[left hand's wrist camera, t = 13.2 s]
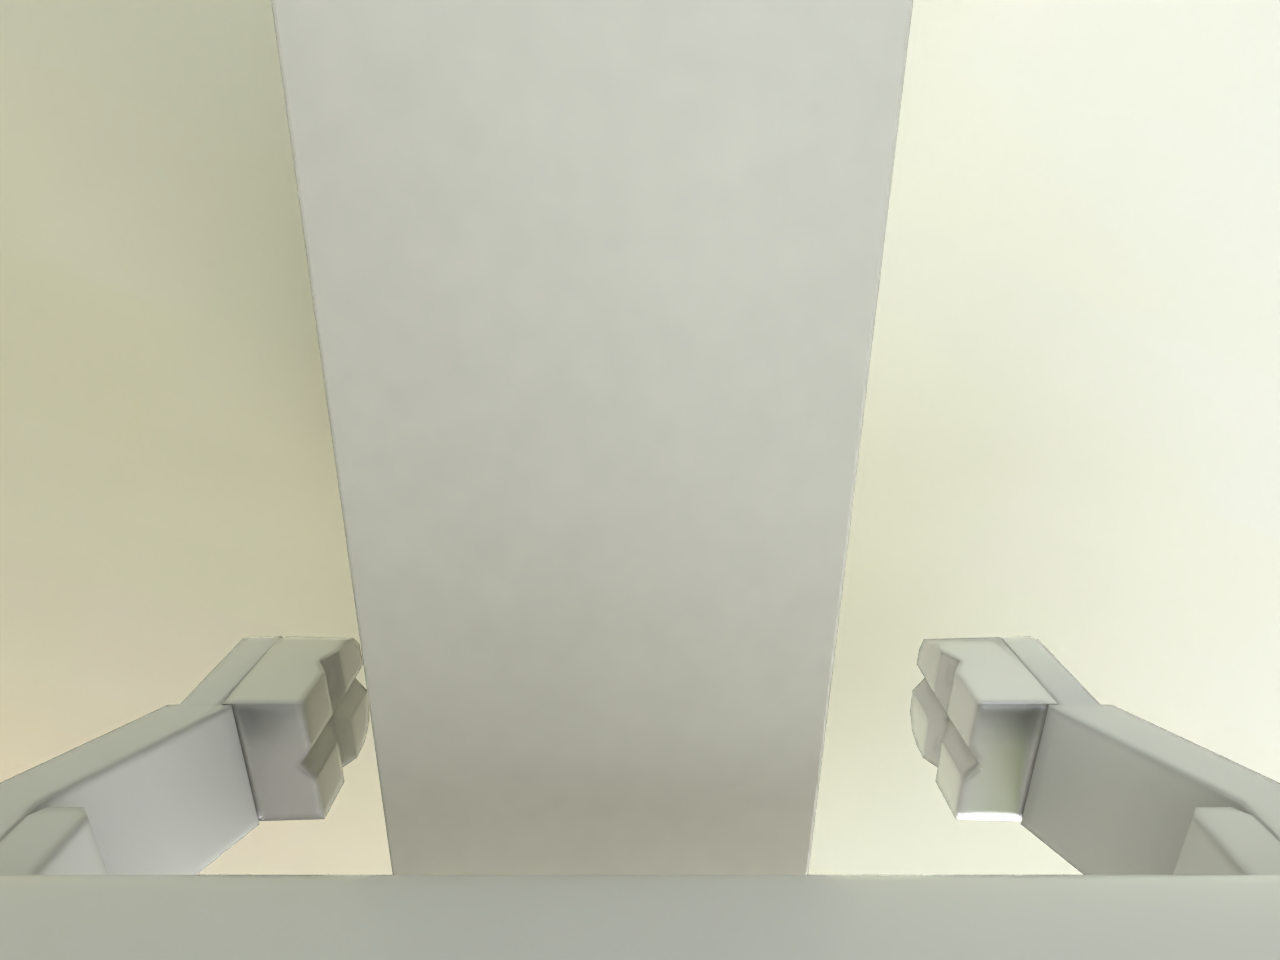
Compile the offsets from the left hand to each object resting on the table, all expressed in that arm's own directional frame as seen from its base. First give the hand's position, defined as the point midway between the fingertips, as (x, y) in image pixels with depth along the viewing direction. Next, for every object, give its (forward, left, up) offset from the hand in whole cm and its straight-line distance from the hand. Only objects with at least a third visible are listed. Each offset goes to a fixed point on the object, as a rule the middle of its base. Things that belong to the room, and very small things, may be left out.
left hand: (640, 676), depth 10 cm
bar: (+5, +8, -6) cm, 11 cm away
